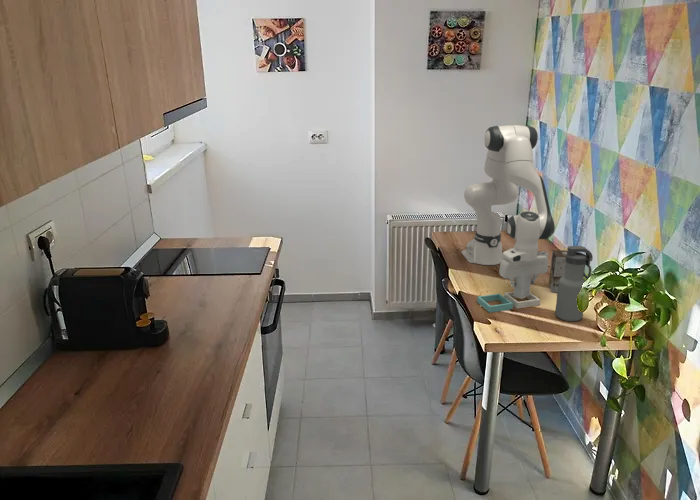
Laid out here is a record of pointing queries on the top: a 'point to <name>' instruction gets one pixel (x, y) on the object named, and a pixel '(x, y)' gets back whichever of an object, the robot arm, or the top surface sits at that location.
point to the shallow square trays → (506, 302)
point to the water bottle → (572, 283)
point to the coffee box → (557, 268)
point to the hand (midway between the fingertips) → (522, 285)
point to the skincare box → (522, 285)
